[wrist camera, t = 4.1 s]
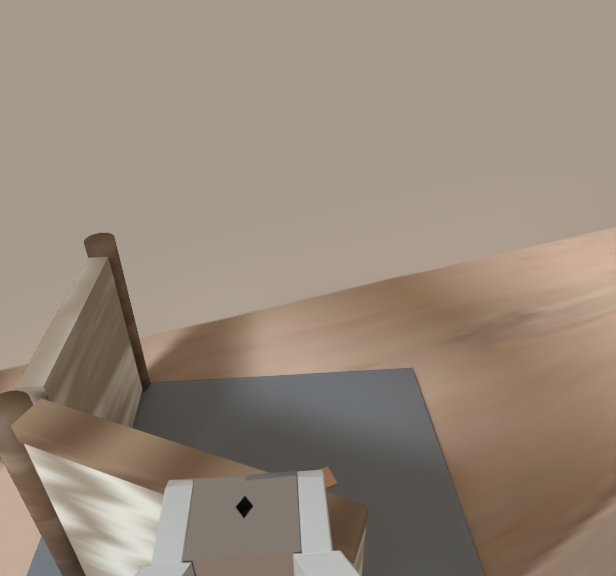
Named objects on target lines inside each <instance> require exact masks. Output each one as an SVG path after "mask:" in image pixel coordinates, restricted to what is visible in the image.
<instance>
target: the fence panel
mask: <svg viewBox="0 0 616 576" xmlns="http://www.w3.org/2000/svg"><path fill="white" fill-rule="evenodd" d="M11 427H12V429H13V431H14V434H15V436H16V438H17V440H18V442H21V443H23V444H24V445H25V447H26V450H27V452H28V454H29V456H30V458H31V460H32V462H33V464H34V467H35V469H36V471H37V473H38V475H39V477H40V479H41V481H42V483H43V486H44V488H45V490H46V492H47V494H48V496H49V498H50V500H51V503H52V505H53V507H54V509H55V511H56V513H57V515H58V517H59V520H60V522H61V524H62V526H63V528H64V530H65V532H66V534H67V537H68V539H69V541H70V543H71V545H72V547H73V549H74V551H75V554H76V556H77V558H78V560H79V562H80V564H81V566H82V568H83V570H84V573H85V575H86V576H135V575H136V574H137V572H138V571H139V570H140V569H141V567H142V566H145V565H151V562H152V557H153V551H154V546H155V540H156V535H157V529H158V524H159V519H160V513H161V508H162V502H163V497H164V492H165V488H166V485H167V483H168V481H169V480H177V479H192V478H215V477H235V476H246V475H252V474H264V473H268V472H265V471H262V470H259V469H256V468H253V467H250V466H247V465H244V464H241V463H237V462H234V461H231V460H228V459H225V458H222V457H219V456H216V455H213V454H210V453H207V452H204V451H201V450H198V449H195V448H191V447H188V446H185V445H182V444H179V443H176V442H173V441H170V440H167V439H164V438H161V437H158V436H155V435H152V434H148V433H145V432H142V431H139V430H136V429H133V428H130V427H127V426H124V425H121V424H118V423H115V422H112V421H109V420H106V419H102V418H99V417H96V416H93V415H90V414H87V413H84V412H81V411H78V410H75V409H72V408H69V407H66V406H63V405H60V404H56V403H53V402H50V401H47V400H44V399H40V400H39V401H37V402H36V403H35V404H34V405H33V406H32V407H31V408H30V409H29V410H27V411H26V412H25V413H24V414H23V415H22V416H21V417H20V418H19V419H18V420H16V421H15V422H14V423H13V424H12V425H11ZM326 496H327V505H328V513H329V522H330V531H331V539H332V548H333V551H337V550H341V551H342V553H343V554H344V555H345V557H346V558H347V559H348V560H349V562H350V563H351V564H352V565H353V567H354V568H355V569H356V570H357V572H358V573H359V574H360V576H362V566H363V555H364V543H365V531H366V524H367V519H368V507H369V505H366V504H363V503H360V502H357V501H354V500H351V499H348V498H345V497H342V496H339V495H336V494H333V493H329V492H326Z"/></svg>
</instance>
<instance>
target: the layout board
mask: <svg viewBox="0 0 616 576" xmlns="http://www.w3.org/2000/svg"><path fill="white" fill-rule="evenodd" d="M132 428H133V429H136V430H139V431H142V432H145V433H148V434H152V435H155V436H158V437H161V438H164V439H167V440H170V441H173V442H176V443H179V444H182V445H185V446H188V447H191V448H195V449H198V450H201V451H204V452H207V453H210V454H213V455H216V456H219V457H222V458H225V459H228V460H231V461H234V462H237V463H241V464H244V465H247V466H250V467H253V468H256V469H259V470H262V471H265V472H268V473H275V472H287V471H296V475H297V471H309V470H320V469H322V471H323V473H324V479H325V487H326V492H329V493H333V494H336V495H339V496H342V497H345V498H348V499H351V500H354V501H357V502H360V503H363V504H366V505H369V507H368V519H367V524H366V531H365V543H364V555H363V566H362V576H485V575H484V572H483V569H482V566H481V563H480V560H479V558H478V555H477V552H476V549H475V546H474V543H473V540H472V538H471V535H470V532H469V529H468V526H467V523H466V520H465V518H464V515H463V512H462V509H461V506H460V503H459V500H458V498H457V495H456V492H455V489H454V486H453V483H452V480H451V478H450V475H449V472H448V469H447V466H446V463H445V460H444V458H443V455H442V452H441V449H440V446H439V443H438V440H437V438H436V435H435V432H434V429H433V426H432V423H431V420H430V418H429V415H428V412H427V409H426V406H425V403H424V400H423V398H422V395H421V392H420V389H419V386H418V383H417V380H416V378H415V375H414V372H413V369H412V368H402V369H384V370H367V371H349V372H332V373H315V374H297V375H280V376H262V377H245V378H228V379H210V380H193V381H175V382H158V383H150V386H149V388H148V389H147V390H146V391H144V392H143V393H141V397H140V401H139V404H138V408H137V412H136V415H135V419H134V422H133V426H132ZM27 576H62V574H61V572H60V570H59V568H58V566H57V564H56V563H55V561H54V559H53V557H52V555H51V553H50V551H49V549H48V547H47V545H46V543H45V541H44V539H43V537H41V539H40V542H39V545H38V547H37V550H36V553H35V555H34V558H33V560H32V563H31V566H30V568H29V571H28V574H27Z"/></svg>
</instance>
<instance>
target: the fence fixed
mask: <svg viewBox="0 0 616 576" xmlns="http://www.w3.org/2000/svg"><path fill="white" fill-rule="evenodd" d="M84 245H85V248H86V252H87V255H88V259H87V261H86V263H85V265H84V266H83V268H82V270H81V272H80V273H79V275H78V277H77V279H76V280H75V282H74V284H73V286H72V288H71V290H70V291H69V293H68V295H67V296H66V298H65V300H64V302H63V304H62V305H61V307H60V309H59V311H58V312H57V314H56V316H55V318H54V320H53V322H52V323H51V325H50V327H49V328H48V330H47V332H46V334H45V336H44V338H43V339H42V341H41V343H40V345H39V346H38V348H37V350H36V352H35V354H34V356H33V357H32V359H31V361H30V362H29V364H28V366H27V368H26V369H25V371H24V373H23V375H22V376H21V378H20V380H19V382H18V384H17V385H16V387H15V389H16V391H9V392H5V393H2V394H0V457H1V459H2V460H3V462H4V464H5V466H6V468H7V470H8V472H9V474H10V476H11V478H12V480H13V482H14V484H15V485H16V487H17V489H18V491H19V493H20V495H21V497H22V499H23V501H24V503H25V505H26V507H27V509H28V511H29V512H30V514H31V516H32V518H33V520H34V522H35V524H36V526H37V528H38V530H39V532H40V534H41V536H42V537H43V539H44V541H45V543H46V545H47V547H48V549H49V551H50V553H51V555H52V557H53V559H54V561H55V563H56V564H57V566H58V568H59V570H60V572H61V574H62V576H86V575H85V573H84V570H83V568H82V566H81V564H80V562H79V560H78V558H77V556H76V554H75V551H74V549H73V547H72V545H71V543H70V541H69V539H68V537H67V534H66V532H65V530H64V528H63V526H62V524H61V522H60V520H59V517H58V515H57V513H56V511H55V509H54V507H53V505H52V503H51V500H50V498H49V496H48V494H47V492H46V490H45V488H44V486H43V483H42V481H41V479H40V477H39V475H38V473H37V471H36V469H35V467H34V464H33V462H32V460H31V458H30V456H29V454H28V452H27V450H26V447H25V445H24V444H23V443H21V442H18V440H17V438H16V436H15V434H14V431H13V429H12V427H11V425H12V424H13V423H14V422H15V421H16V420H18V419H19V418H20V417H21V416H22V415H23V414H24V413H25V412H26V411H27V410H29V409H30V408H31V407H32V406H33V405H34V404H35V403H36V402H37V401H39V400H40V399H44V400H47V401H50V402H53V403H56V404H60V405H63V406H66V407H69V408H72V409H75V410H78V411H81V412H84V413H87V414H90V415H93V416H96V417H99V418H102V419H106V420H109V421H112V422H115V423H118V424H121V425H124V426H127V427H130V428H132V426H133V422H134V419H135V415H136V412H137V408H138V404H139V401H140V397H141V393H143V392H144V391H146V390H147V389H148V388H149V386H150V380H149V376H148V372H147V368H146V364H145V360H144V356H143V352H142V348H141V343H140V339H139V335H138V331H137V327H136V323H135V319H134V315H133V311H132V307H131V303H130V299H129V295H128V291H127V286H126V282H125V278H124V274H123V270H122V266H121V262H120V258H119V254H118V250H117V246H116V242H115V238H114V236H113V235H112V234H110V233H98V234H94V235H91V236H89V237H87V238H86V239H85V240H84Z"/></svg>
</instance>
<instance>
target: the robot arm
mask: <svg viewBox="0 0 616 576" xmlns="http://www.w3.org/2000/svg"><path fill="white" fill-rule="evenodd" d="M135 576H360V574H359V573H358V572H357V570H356V569H355V568H354V567H353V565H352V564H351V563H350V562H349V560H348V559H347V558H346V557H345V555H344V554H343V553H342V551H341V550H337V551H333V548H332V539H331V531H330V522H329V513H328V505H327V496H326V487H325V479H324V473H323V471H322V469H320V470H309V471H297V475H296V471H287V472H275V473H264V474H252V475H246V476H235V477H215V478H192V479H177V480H169V481H168V483H167V485H166V488H165V492H164V497H163V502H162V508H161V513H160V519H159V524H158V529H157V535H156V540H155V546H154V551H153V557H152V562H151V565H145V566H142V567H141V569H140V570H139V571H138V572H137V574H136V575H135Z"/></svg>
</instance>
